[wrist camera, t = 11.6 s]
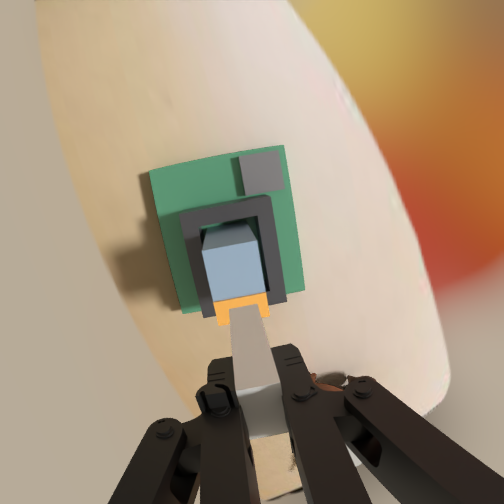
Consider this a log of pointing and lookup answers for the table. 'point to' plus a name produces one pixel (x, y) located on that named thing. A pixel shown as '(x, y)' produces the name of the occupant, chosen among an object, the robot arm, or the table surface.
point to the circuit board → (228, 219)
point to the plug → (234, 269)
